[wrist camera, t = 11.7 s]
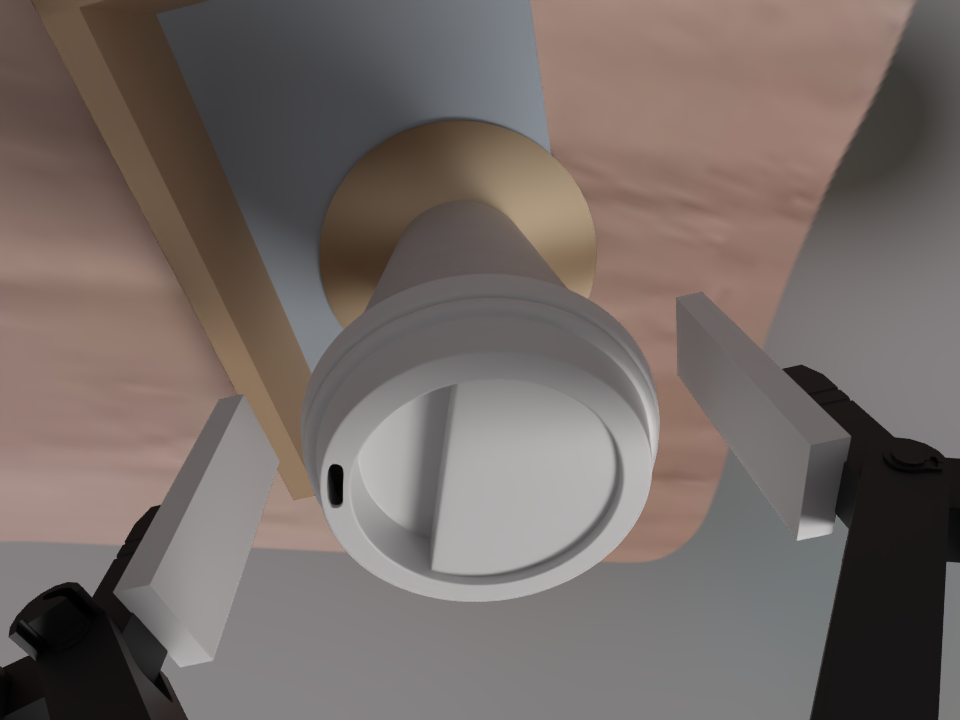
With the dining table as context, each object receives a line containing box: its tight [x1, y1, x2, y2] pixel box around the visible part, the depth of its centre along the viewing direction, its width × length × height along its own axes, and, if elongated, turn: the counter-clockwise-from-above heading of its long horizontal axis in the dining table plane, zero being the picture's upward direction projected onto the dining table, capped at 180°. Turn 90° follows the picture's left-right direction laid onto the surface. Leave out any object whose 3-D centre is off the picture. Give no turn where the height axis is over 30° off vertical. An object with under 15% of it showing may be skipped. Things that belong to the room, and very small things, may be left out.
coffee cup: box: [301, 200, 659, 602], centre depth 20 cm, size 10×10×15 cm
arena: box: [31, 0, 551, 500], centre depth 23 cm, size 21×15×6 cm
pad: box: [320, 120, 597, 329], centre depth 26 cm, size 13×13×1 cm
